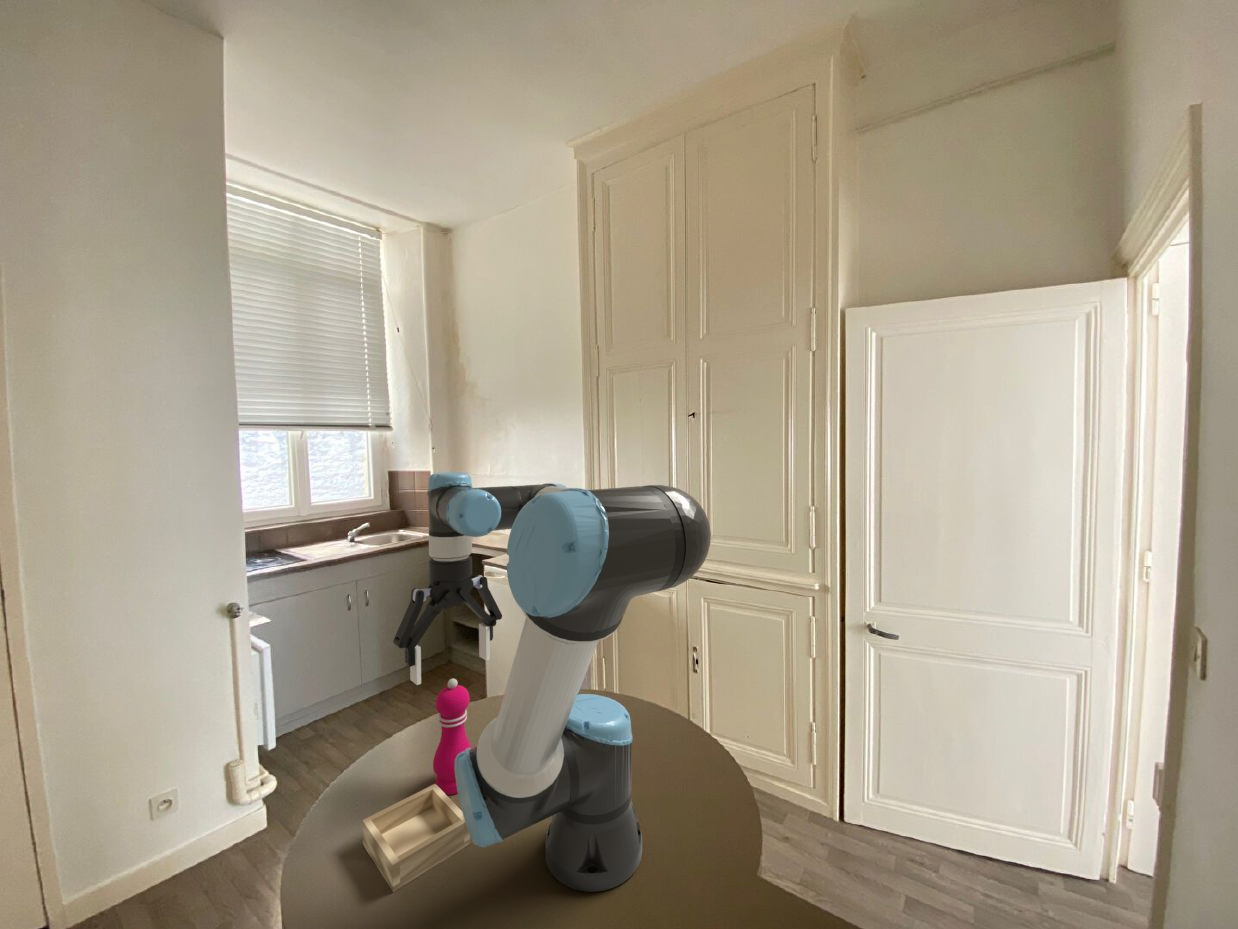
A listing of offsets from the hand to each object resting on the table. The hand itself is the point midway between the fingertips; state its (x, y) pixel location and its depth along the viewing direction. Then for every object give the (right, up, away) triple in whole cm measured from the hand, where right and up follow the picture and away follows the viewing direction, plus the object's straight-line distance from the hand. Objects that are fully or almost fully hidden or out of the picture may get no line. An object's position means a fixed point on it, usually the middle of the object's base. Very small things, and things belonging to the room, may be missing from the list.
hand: (451, 669), depth 93 cm
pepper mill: (0, -22, +1) cm, 22 cm away
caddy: (-1, -22, -13) cm, 26 cm away
